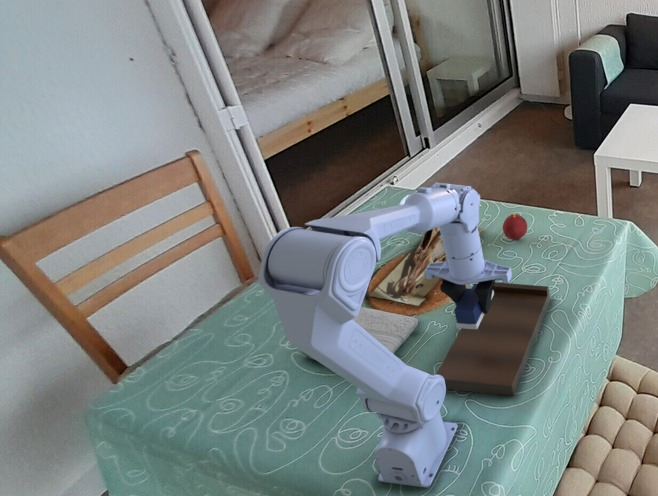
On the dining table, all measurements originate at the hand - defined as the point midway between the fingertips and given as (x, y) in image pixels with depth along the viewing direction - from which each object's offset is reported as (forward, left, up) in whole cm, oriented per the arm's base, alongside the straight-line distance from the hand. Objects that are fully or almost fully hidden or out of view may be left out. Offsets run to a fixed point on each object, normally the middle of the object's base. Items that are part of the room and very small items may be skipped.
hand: (476, 308), depth 89 cm
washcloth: (-1, +24, -10) cm, 26 cm away
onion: (+32, +5, -10) cm, 34 cm away
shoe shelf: (+2, -2, -10) cm, 10 cm away
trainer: (0, 0, 0) cm, 0 cm away
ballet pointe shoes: (+23, +22, -10) cm, 33 cm away
